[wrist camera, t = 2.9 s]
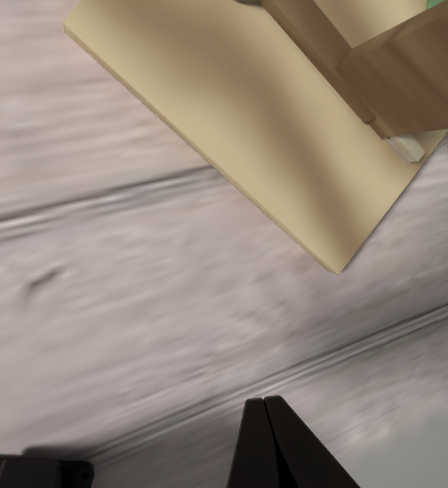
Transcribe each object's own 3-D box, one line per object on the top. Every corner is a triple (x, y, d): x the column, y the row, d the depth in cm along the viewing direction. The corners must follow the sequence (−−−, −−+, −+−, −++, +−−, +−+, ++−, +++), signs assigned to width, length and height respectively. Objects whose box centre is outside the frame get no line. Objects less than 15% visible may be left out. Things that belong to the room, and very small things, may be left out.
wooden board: (327, 270, 24) (341, 276, 23) (64, 32, 18) (61, 19, 17) (513, 28, 26) (537, 19, 24) (328, -273, 19) (346, -309, 18)
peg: (391, 181, 23) (624, 183, 13) (191, -44, 18) (311, -340, 8) (428, 134, 23) (683, 99, 13) (240, -101, 18) (420, -462, 8)
